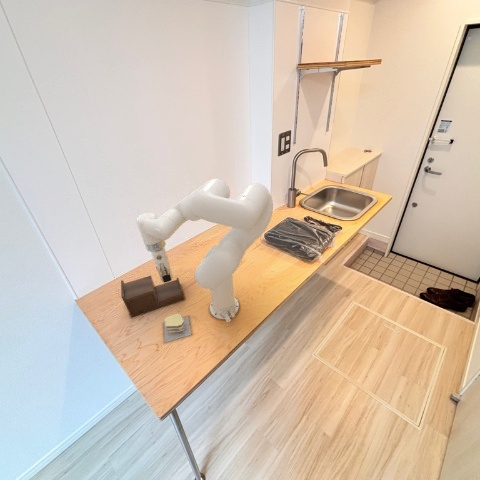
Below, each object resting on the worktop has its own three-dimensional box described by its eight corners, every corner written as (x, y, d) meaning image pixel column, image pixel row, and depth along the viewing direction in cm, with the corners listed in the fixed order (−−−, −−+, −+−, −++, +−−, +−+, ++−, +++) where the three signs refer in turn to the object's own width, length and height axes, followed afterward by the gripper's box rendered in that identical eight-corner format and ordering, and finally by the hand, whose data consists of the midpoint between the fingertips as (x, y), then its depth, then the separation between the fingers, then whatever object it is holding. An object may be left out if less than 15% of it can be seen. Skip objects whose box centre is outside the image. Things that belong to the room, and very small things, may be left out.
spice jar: (174, 280, 105) (170, 267, 101) (161, 284, 104) (156, 271, 100) (172, 272, 110) (168, 259, 105) (159, 276, 108) (155, 263, 104)
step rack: (184, 299, 111) (178, 278, 103) (131, 317, 105) (121, 296, 97) (180, 284, 119) (174, 264, 111) (130, 300, 112) (120, 280, 105)
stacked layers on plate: (165, 342, 94) (161, 333, 91) (164, 323, 101) (160, 314, 98) (191, 334, 96) (188, 326, 93) (188, 316, 103) (185, 308, 100)
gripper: (168, 252, 90) (179, 286, 101) (161, 230, 103) (172, 262, 114) (147, 258, 88) (160, 293, 99) (143, 234, 101) (155, 267, 112)
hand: (166, 276), depth 106 cm, fingers closed on spice jar, 5 cm apart
